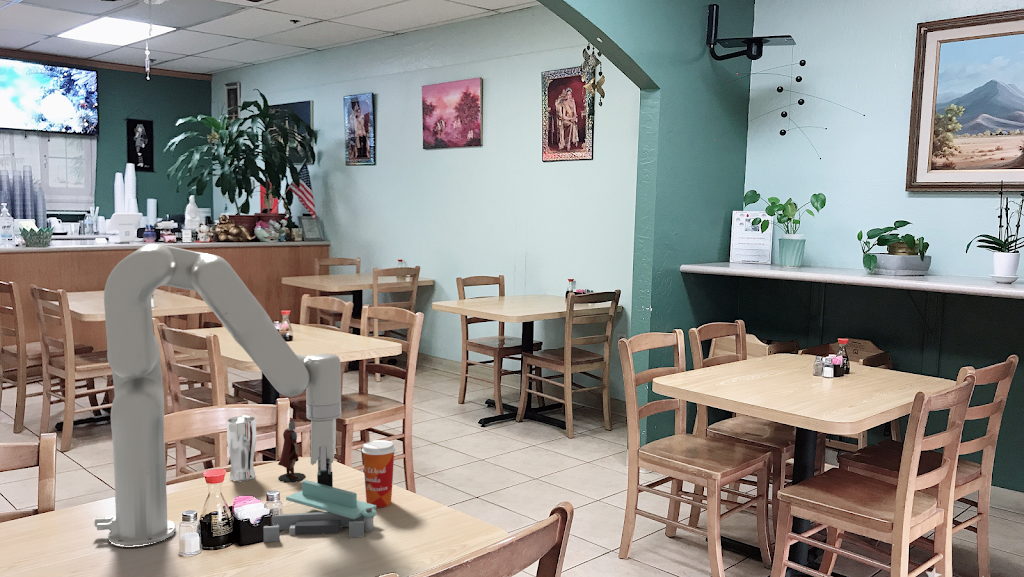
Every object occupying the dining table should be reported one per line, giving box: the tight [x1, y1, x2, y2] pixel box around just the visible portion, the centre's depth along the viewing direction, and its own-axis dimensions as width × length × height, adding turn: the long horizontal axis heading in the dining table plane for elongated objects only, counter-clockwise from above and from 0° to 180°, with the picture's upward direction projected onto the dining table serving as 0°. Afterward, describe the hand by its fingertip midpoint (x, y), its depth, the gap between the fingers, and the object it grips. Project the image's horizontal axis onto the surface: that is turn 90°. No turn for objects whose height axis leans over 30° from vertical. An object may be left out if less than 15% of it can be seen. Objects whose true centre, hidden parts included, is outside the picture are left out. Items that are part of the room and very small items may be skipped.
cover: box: [285, 479, 377, 519], centre depth 171 cm, size 22×7×4 cm, turn 59°
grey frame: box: [262, 511, 374, 543], centre depth 165 cm, size 22×7×3 cm, turn 99°
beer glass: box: [226, 415, 257, 482], centre depth 197 cm, size 7×7×15 cm
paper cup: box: [361, 439, 397, 509], centre depth 181 cm, size 8×8×14 cm
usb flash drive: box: [289, 520, 342, 536], centre depth 165 cm, size 10×3×2 cm, turn 96°
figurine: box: [277, 419, 306, 483], centre depth 197 cm, size 7×7×15 cm
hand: (325, 490), depth 176 cm, fingers closed
